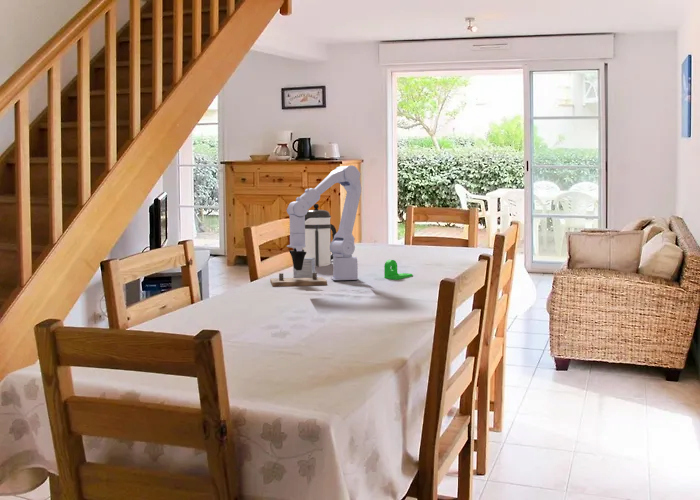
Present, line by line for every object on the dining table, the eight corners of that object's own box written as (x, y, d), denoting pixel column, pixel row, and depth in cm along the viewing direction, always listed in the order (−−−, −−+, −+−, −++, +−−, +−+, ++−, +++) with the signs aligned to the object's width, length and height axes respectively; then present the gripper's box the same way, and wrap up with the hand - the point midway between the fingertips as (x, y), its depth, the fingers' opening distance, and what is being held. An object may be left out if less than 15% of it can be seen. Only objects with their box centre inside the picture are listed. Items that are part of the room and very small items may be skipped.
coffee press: (335, 273, 330) (335, 203, 328) (298, 274, 330) (297, 203, 328) (337, 270, 347) (336, 203, 345) (301, 270, 347) (300, 203, 346)
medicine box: (315, 279, 308) (315, 257, 308) (312, 280, 304) (311, 258, 304) (296, 278, 311) (296, 257, 310) (293, 279, 306) (292, 258, 306)
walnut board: (321, 281, 300) (321, 270, 300) (327, 285, 285) (326, 274, 285) (270, 282, 297) (270, 272, 297) (272, 286, 282) (272, 275, 282)
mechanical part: (396, 281, 299) (396, 260, 298) (384, 280, 303) (384, 260, 302) (415, 278, 308) (415, 258, 307) (403, 278, 312) (403, 258, 311)
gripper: (285, 232, 296) (285, 268, 297) (288, 234, 282) (288, 271, 283) (303, 232, 297) (304, 267, 298) (307, 233, 283) (308, 270, 284)
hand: (297, 269), depth 291 cm, fingers open, 7 cm apart
